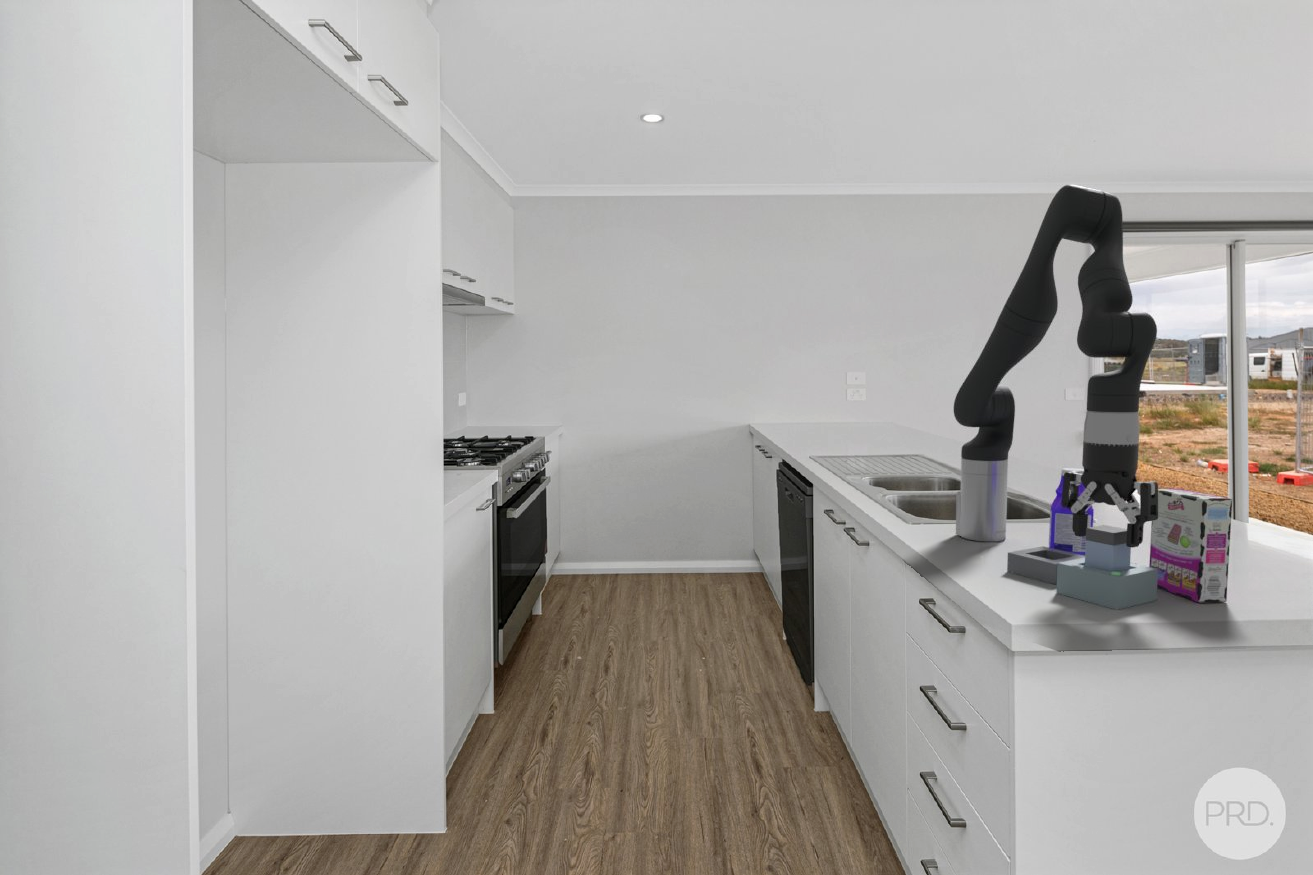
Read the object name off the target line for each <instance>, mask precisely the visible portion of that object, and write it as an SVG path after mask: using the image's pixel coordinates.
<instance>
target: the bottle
mask: <svg viewBox="0 0 1313 875" xmlns="http://www.w3.org/2000/svg"><path fill="white" fill-rule="evenodd" d="M1073 471H1074V472H1075V471H1078V472H1079V473H1080V474H1083V472H1084V468H1077V467H1076V468H1075V467H1063V468H1062V469H1061V474H1060V476H1061V477H1060V481H1059V484H1058V486H1057V488H1056V489H1055V495H1056V496H1055V498H1054V499H1053V501H1052V502H1051V505H1050V510H1049V511H1050V513H1049V532H1048V548H1052V549H1057V550H1061V551H1066V552H1070V553H1075V554H1079V555H1084V556H1085V545H1086V536H1082V537H1079V536H1075V532H1073V529H1072V524H1073V512H1072V511H1071V510H1070V509H1068V508H1064V507H1062V505H1061V499H1062V489H1063V480H1064V474H1065V473H1066V472H1073ZM1084 490H1085V487H1084V486H1083V484H1082V483H1081V484H1080V485H1079V491H1078V497H1079V496H1080V495H1081V494H1082V493H1083V491H1084ZM1094 510H1095V509H1094V508H1093V504H1092V505H1091V506H1090V507H1089V509H1088V510H1087V511H1086V512H1085V513H1088V524H1087V528H1088V527H1094V516H1095V515H1094V514H1095V513H1094Z"/></svg>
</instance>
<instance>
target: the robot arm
mask: <svg viewBox="0 0 1313 875" xmlns="http://www.w3.org/2000/svg"><path fill="white" fill-rule="evenodd" d="M1123 223H1124V222H1123V209H1122V204H1121V201H1120V200H1119V197H1118V196H1117V195H1115V194H1114V193H1110V192H1107V191H1104V190H1099V189H1096V188H1095V189H1094V188H1089V187H1084V186H1080V185H1077V184H1066V185H1063V186H1062V187H1061V188H1060V189H1059V190H1058V191H1057V192H1056V193H1055V195H1054V196H1053V198H1052V199H1051V201H1050V203H1049V206H1048V207H1047V210H1046V213H1045V215H1044V217H1043V219H1042V222H1041V225H1040V227H1039V229H1038V232H1037V234H1036V238H1034V239H1035V240H1034V242H1033V245H1032V247H1031V250H1030V252H1029V255H1028V258H1026V262H1025V264H1024V266H1023V268H1022V270H1021V272H1020V274H1019V275H1018V278H1017V279H1016V280H1017V281H1016V283H1015V284H1014V286H1013V288H1012V290H1011V292H1010V294H1009V296H1008V298H1007V299H1006V302H1005V303H1004V306H1003V308H1002V309H1001V311H1000V313H999V316H998V317H997V321H996V322H995V325H994V328H993V330H992V331H991V334H990V336H989V338H988V340H987V341H986V343H985V346H984V347H983V349H982V350H981V352H980V355H979V356H978V358H977V360H976V362H975V363H974V365H973V366H972V367H971V369H970V372H969V373H968V374H967V376H966V378H965V379H964V381H963V383H962V384H961V385H960V387H959V389H958V391H957V393H956V395H955V399H954V402H953V415H954V418H955V420H956V421H957V423H958V424H959V425H961V426H963V427H965V428H966V427H967V428H978V431H977V434H976V435H975V436H974V437H973V438H972V439H971V440H969V441H967V442H965V443H964V444H963V445H962V447H961V454H960V458H961V459H960V460H961V461H960V462H961V463H960V464H961V465H960V490H959V491H957V492H956V502H955V503H956V506H955V507H956V508H955V510H956V511H955V535H956V534H957V536H959V537H960V536H961V538H962V539H965V540H971V541H977V542H1000V541H1001V542H1002V541H1005V540H1006V537H1007V536H1006V534H1007V508H1008V506H1007V503H1008V502H1007V501H1008V477H1009V476H1008V474H1009V472H1008V471H1009V470H1008V468H1009V464H1008V462H1009V460H1008V459H1009V451H1010V450H1011V447H1012V446H1013V439H1014V427H1015V416H1016V404H1015V403H1016V401H1015V398H1014V394H1013V391H1011V389H1010V388H1009V387H1008V386H1007V385H1005V384H1002V383H1001V381H1002V380H1003V378H1005V376H1006V375H1007V374H1008V373H1009V371H1011V370H1012V369H1013V368H1014V367H1015V366H1016V365H1017V364H1019V363H1020V362H1021V361H1022V360H1023V359H1025V358H1026V357H1027V356H1028V355H1029V354H1030V353H1031V352H1033V351H1034V350H1035V349H1036V347H1038V345H1040V343H1041V342H1043V341H1042V340H1043V339H1044V337H1045V335H1047V332H1048V331H1049V328H1050V326H1051V325H1052V323H1053V320H1054V319H1055V317H1056V315H1057V313H1058V307H1059V306H1058V303H1059V302H1058V301H1059V300H1058V299H1059V298H1058V292H1057V287H1056V283H1055V282H1056V281H1055V280H1056V279H1055V275H1054V261H1055V256H1056V253H1057V250H1058V247H1059V245H1060V243H1061V241H1062V240H1068V241H1071V242H1072V241H1073V242H1077V243H1081V244H1089V245H1091V246H1092V247H1093V249H1094V252H1092V254H1091V255H1089V256H1088V258H1086V260H1085V261H1084V262H1083V264H1082V265H1081V267H1080V269H1079V273H1078V275H1077V287H1078V292H1079V296H1080V301H1081V305H1082V306H1081V307H1082V310H1081V311H1082V313H1081V320H1080V323H1079V326H1078V329H1077V336H1076V343H1077V347H1078V349H1079V350H1080V352H1082V353H1083V355H1085V356H1087V357H1089V358H1095V359H1096V358H1098V359H1099V358H1103V359H1104V358H1107V359H1108V358H1124V361H1123V362H1122V364H1121V365H1120V366H1119V367H1118V368H1117V369H1115V370H1112V371H1107V372H1101V373H1096V374H1093V375H1092V376H1090V378H1089V379H1088V381H1087V392H1086V393H1087V394H1086V396H1087V397H1086V413H1085V419H1084V423H1083V424H1084V425H1083V442H1082V445H1083V446H1082V462H1081V464H1082V468H1083V469H1084V472H1083V474H1080V473H1079V472H1078V471H1075V472H1074V471H1073V472H1066V473H1065V474H1064V480H1063V489H1062V499H1061V505H1062V507H1064V508H1068V509H1070V510H1071V511H1072V512H1073V524H1072V529H1073V532H1075V536H1079V537H1082V536H1086V528H1087V524H1088V513H1085V512H1086V511H1087V510H1088V509H1089V507H1090V506H1091V505H1092V506H1093V505H1094V504H1095V503H1097V504H1102V503H1103V504H1106V505H1108V506H1117V509H1118V510H1119V511H1120V512H1122V513H1123V515H1124V516H1125V518H1126V519H1127V521H1128V522H1129V523H1127V524H1126V529H1127V540H1126V545H1127V547H1131V549H1133V548H1138V547H1139V546H1140V544H1142V543H1143V540H1144V526H1145V523H1147V522H1152V521H1153V520H1157V519H1158V489H1159V486H1158V482H1157V481H1156V480H1154V481H1153V480H1151V481H1138V480H1137V477H1136V475H1137V474H1136V473H1137V470H1138V466H1139V465H1138V464H1139V463H1138V462H1139V450H1140V449H1139V446H1140V431H1141V430H1140V429H1141V428H1140V426H1141V425H1140V417H1139V411H1140V409H1139V408H1140V392H1141V384H1142V380H1143V376H1144V372H1145V369H1146V367H1147V363H1148V360H1149V358H1150V355H1151V353H1152V350H1153V348H1154V345H1155V343H1156V339H1157V335H1158V327H1157V326H1158V325H1157V324H1156V320H1155V319H1154V318H1153V316H1152V315H1150V314H1149V313H1148V312H1145V311H1130V309H1131V307H1132V304H1133V298H1134V297H1133V293H1132V289H1131V287H1130V282H1129V279H1128V275H1127V272H1126V270H1125V264H1124V245H1123V244H1124V231H1123V230H1124V228H1123ZM1081 483H1082V484H1083V486H1084V487H1085V490H1084V491H1083V493H1082V494H1081V495H1080V496H1079V497H1078V491H1079V485H1080V484H1081ZM1136 490H1137V492H1136ZM1135 492H1136V493H1137V494H1138V495H1139V501H1138V500H1137V498H1136V497H1135V495H1134V493H1135Z"/></svg>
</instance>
